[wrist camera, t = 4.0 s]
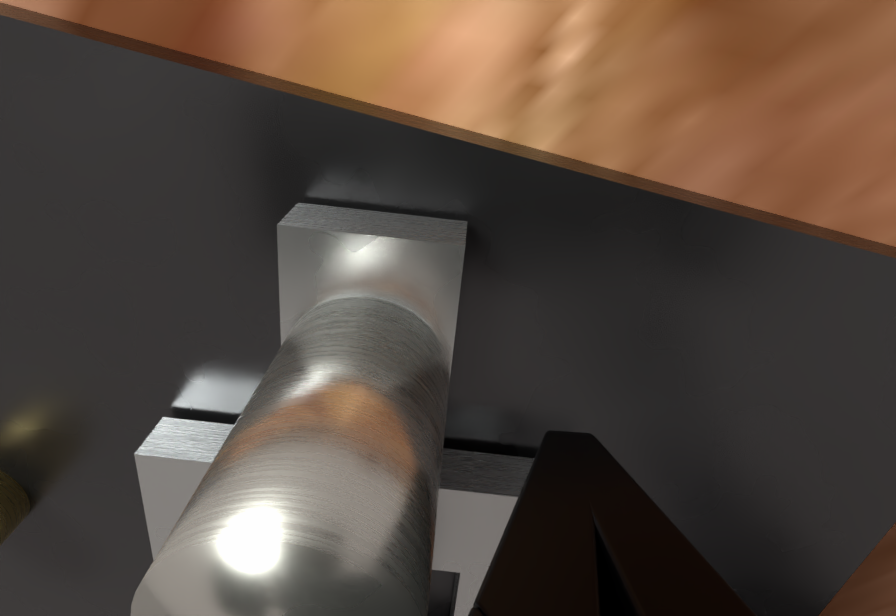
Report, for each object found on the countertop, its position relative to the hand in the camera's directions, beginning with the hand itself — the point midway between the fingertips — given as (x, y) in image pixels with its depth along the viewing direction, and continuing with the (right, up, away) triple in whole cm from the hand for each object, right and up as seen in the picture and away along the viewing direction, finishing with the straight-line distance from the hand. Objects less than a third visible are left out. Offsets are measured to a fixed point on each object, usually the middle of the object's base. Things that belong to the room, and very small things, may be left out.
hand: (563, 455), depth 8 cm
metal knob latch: (-3, -3, +5) cm, 7 cm away
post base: (-4, -4, +8) cm, 9 cm away
